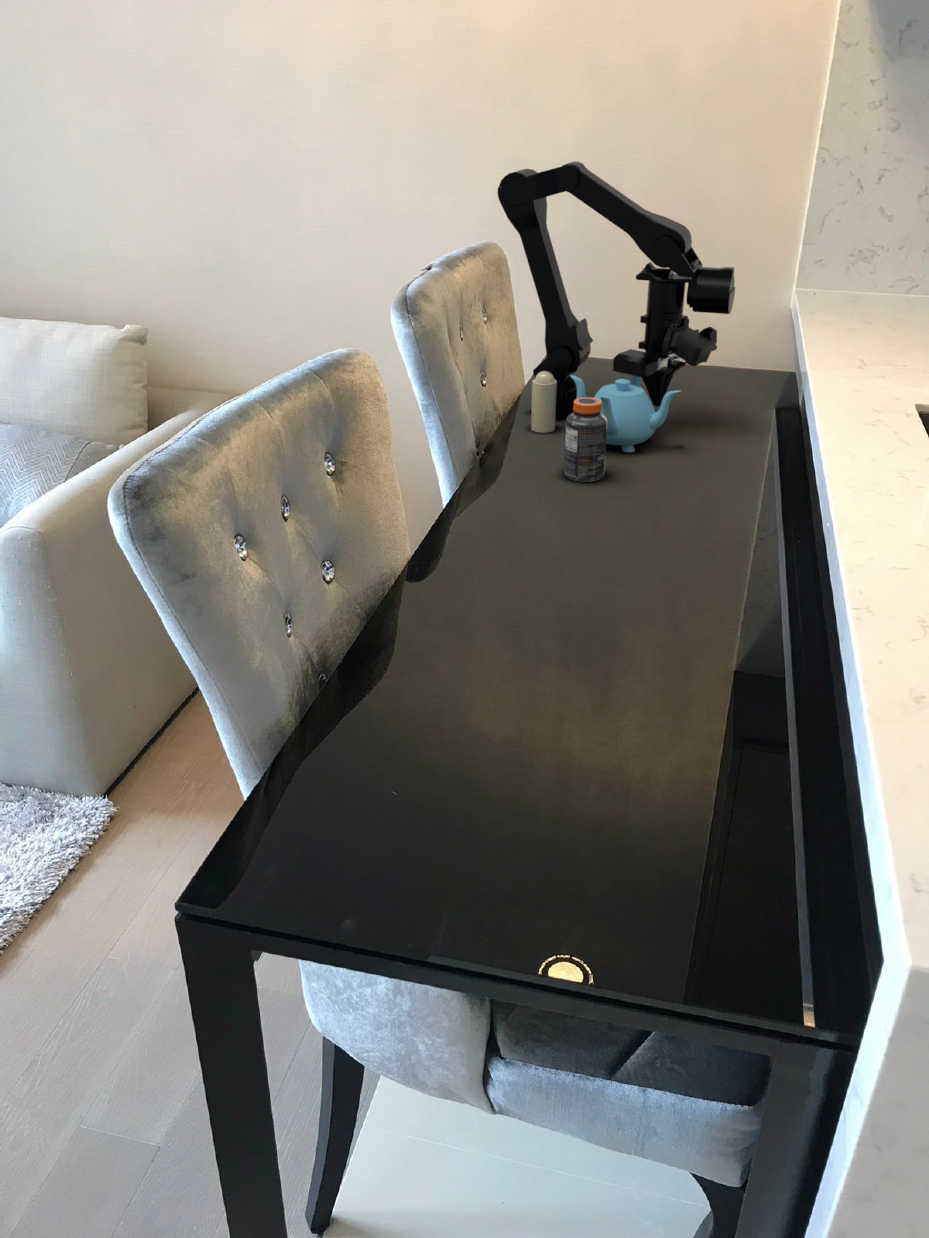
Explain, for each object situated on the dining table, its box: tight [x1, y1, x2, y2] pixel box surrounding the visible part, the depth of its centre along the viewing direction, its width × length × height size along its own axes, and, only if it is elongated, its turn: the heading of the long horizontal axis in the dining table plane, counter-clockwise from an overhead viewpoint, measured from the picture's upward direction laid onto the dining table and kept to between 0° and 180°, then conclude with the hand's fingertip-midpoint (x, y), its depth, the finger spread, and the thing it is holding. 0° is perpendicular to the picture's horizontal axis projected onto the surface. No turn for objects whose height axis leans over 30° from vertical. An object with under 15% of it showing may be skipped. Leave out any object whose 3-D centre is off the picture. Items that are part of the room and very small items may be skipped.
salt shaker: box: [530, 371, 557, 434], centre depth 163 cm, size 4×4×10 cm
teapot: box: [570, 374, 682, 453], centre depth 157 cm, size 13×13×10 cm
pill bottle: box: [563, 396, 607, 483], centre depth 144 cm, size 6×6×11 cm
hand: (656, 405), depth 166 cm, fingers closed
